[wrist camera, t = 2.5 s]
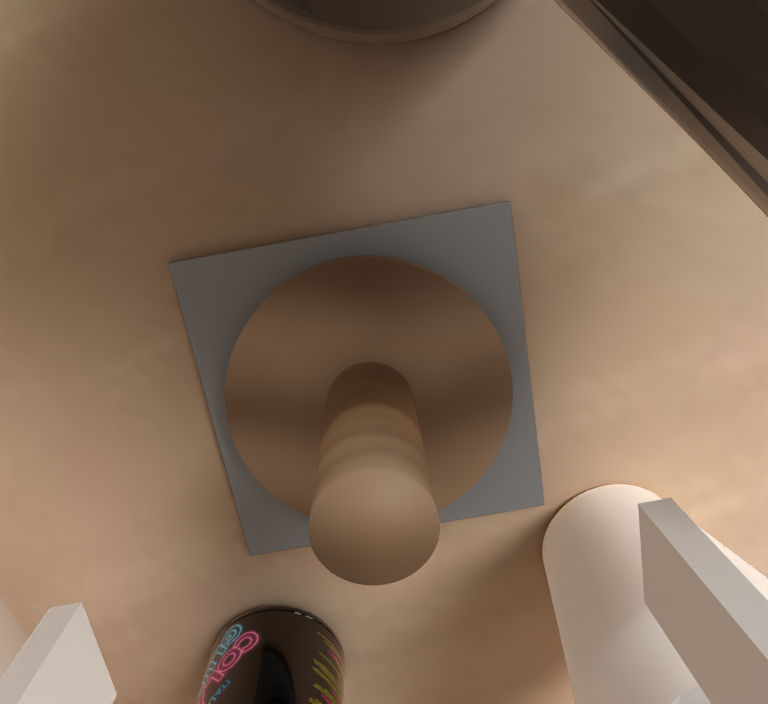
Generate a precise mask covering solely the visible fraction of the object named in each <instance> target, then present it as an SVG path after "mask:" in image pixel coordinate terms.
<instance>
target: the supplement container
mask: <svg viewBox="0 0 768 704" xmlns="http://www.w3.org/2000/svg"><path fill="white" fill-rule="evenodd" d="M344 673H345V658H344V652H343V649H342V646H341V644H340V642H339V640H338V638H337V636H336V635H335V633H334V632H333V630H332V629H331V628H330V627H329V626H328V625H327V624H326V623H325V622H324V621H323V620H322V619H320V618H319V617H317V616H316V615H314V614H312V613H310V612H308V611H306V610H303V609H300V608H296V607H292V606H284V605H271V606H264V607H259V608H256V609H253V610H250V611H248V612H245V613H243V614H242V615H240V616H238V617H237V618H235V619H234V620H233V621H231V622H230V623H229V624H228V625H227V626H226V627H225V628H224V629H223V630H222V632H221V633H220V634H219V636H218V637H217V639H216V641H215V643H214V645H213V648H212V651H211V654H210V657H209V661H208V664H207V667H206V670H205V674H204V677H203V680H202V683H201V687H200V690H199V693H198V696H197V700H196V703H195V704H343V703H344Z"/></svg>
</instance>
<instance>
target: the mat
mask: <svg viewBox="0 0 768 704" xmlns="http://www.w3.org/2000/svg"><path fill="white" fill-rule="evenodd" d="M359 255H382V256H389V257H395V258H401V259H405V260H408V261H412V262H415V263H419V264H421V265H423V266H426V267H428V268H430V269H432V270H435V271H437V272H438V273H440V274H442V275H443V276H445V277H447V278H448V279H450V280H452V281H453V282H454V283H455V284H457V285H458V286H459V287H460V288H461V289H463V290H464V291H465V292H466V293H467V294H468V295H469V296H470V297H471V298H472V299H473V300H474V301H475V302H476V303H477V304H478V305H479V307H480V308H481V309H482V310H483V312H484V313H485V314H486V316H487V317H488V319H489V320H490V321H491V323H492V324H493V326H494V327H495V329H496V331H497V333H498V335H499V337H500V339H501V341H502V343H503V345H504V348H505V351H506V354H507V357H508V360H509V364H510V369H511V374H512V384H513V402H512V413H511V418H510V422H509V426H508V430H507V433H506V436H505V438H504V441H503V444H502V446H501V448H500V450H499V452H498V454H497V456H496V457H495V459H494V461H493V463H492V464H491V465H490V467H489V468H488V470H487V471H486V472H485V474H484V475H483V476H482V477H481V478H480V479H479V481H478V482H477V483H476V484H475V485H474V486H473V487H472V488H471V489H470V490H469V491H467V492H466V493H465V494H464V495H463V496H462V497H460V498H459V499H458V500H456V501H455V502H453V503H452V504H450V505H449V506H447V507H446V508H444V509H442V510H440V511H438V516H439V523H443V522H449V521H455V520H460V519H466V518H472V517H478V516H483V515H489V514H495V513H501V512H507V511H512V510H518V509H524V508H530V507H535V506H541V505H544V497H543V489H542V480H541V471H540V462H539V453H538V444H537V435H536V426H535V417H534V408H533V400H532V391H531V382H530V373H529V364H528V355H527V346H526V337H525V328H524V319H523V311H522V302H521V293H520V284H519V275H518V266H517V257H516V248H515V239H514V230H513V222H512V213H511V204H510V201H504V202H499V203H494V204H488V205H483V206H477V207H472V208H466V209H461V210H455V211H450V212H444V213H439V214H433V215H428V216H422V217H417V218H411V219H406V220H400V221H395V222H389V223H384V224H379V225H373V226H368V227H362V228H357V229H351V230H346V231H340V232H335V233H329V234H324V235H318V236H313V237H307V238H302V239H296V240H291V241H285V242H280V243H274V244H269V245H263V246H258V247H253V248H247V249H242V250H236V251H231V252H225V253H220V254H214V255H209V256H203V257H198V258H192V259H187V260H181V261H176V262H171V263H169V264H168V265H169V269H170V272H171V276H172V279H173V283H174V286H175V290H176V294H177V297H178V301H179V304H180V308H181V311H182V315H183V318H184V322H185V326H186V329H187V333H188V336H189V340H190V343H191V347H192V351H193V354H194V358H195V361H196V365H197V368H198V372H199V375H200V379H201V383H202V386H203V390H204V393H205V397H206V400H207V404H208V408H209V411H210V415H211V418H212V422H213V425H214V429H215V432H216V436H217V440H218V443H219V447H220V450H221V454H222V457H223V461H224V464H225V468H226V472H227V475H228V479H229V482H230V486H231V489H232V493H233V497H234V500H235V504H236V507H237V511H238V514H239V518H240V521H241V525H242V529H243V532H244V536H245V539H246V543H247V546H248V550H249V554H250V556H253V555H259V554H264V553H270V552H276V551H282V550H287V549H293V548H299V547H305V546H310V545H311V543H310V540H309V534H308V524H309V517H308V516H306V515H304V514H302V513H300V512H298V511H296V510H294V509H292V508H291V507H289V506H288V505H286V504H284V503H283V502H281V501H280V500H278V499H277V498H276V497H275V496H274V495H272V494H271V493H270V492H269V491H268V490H267V489H265V488H264V487H263V485H262V484H261V483H260V482H259V481H258V480H257V479H256V478H255V477H254V475H253V474H252V473H251V471H250V470H249V469H248V467H247V466H246V464H245V463H244V461H243V460H242V458H241V456H240V454H239V452H238V450H237V448H236V446H235V444H234V441H233V438H232V435H231V432H230V429H229V425H228V420H227V415H226V408H225V383H226V374H227V370H228V365H229V361H230V357H231V354H232V352H233V349H234V347H235V344H236V342H237V339H238V338H239V336H240V334H241V332H242V331H243V329H244V327H245V325H246V324H247V322H248V321H249V319H250V318H251V317H252V315H253V314H254V313H255V311H256V310H257V309H258V307H259V306H260V305H261V303H262V302H263V301H264V300H265V299H266V298H267V297H268V296H269V295H270V294H271V293H272V292H273V291H274V290H275V289H277V288H278V287H279V286H281V285H282V284H283V283H285V282H286V281H287V280H289V279H290V278H292V277H293V276H295V275H297V274H299V273H301V272H302V271H304V270H306V269H308V268H311V267H313V266H316V265H318V264H321V263H323V262H326V261H330V260H334V259H338V258H342V257H350V256H359Z"/></svg>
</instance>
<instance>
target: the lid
mask: <svg viewBox="0 0 768 704" xmlns="http://www.w3.org/2000/svg"><path fill="white" fill-rule="evenodd" d="M512 402H513V384H512V374H511V369H510V364H509V360H508V357H507V354H506V351H505V348H504V345H503V343H502V341H501V339H500V337H499V335H498V333H497V331H496V329H495V327H494V326H493V324H492V323H491V321H490V320H489V319H488V317H487V316H486V314H485V313H484V312H483V310H482V309H481V308H480V307H479V305H478V304H477V303H476V302H475V301H474V300H473V299H472V298H471V297H470V296H469V295H468V294H467V293H466V292H465V291H464V290H463V289H461V288H460V287H459V286H458V285H457V284H455V283H454V282H453V281H452V280H450V279H448V278H447V277H445V276H443V275H442V274H440V273H438V272H437V271H435V270H432V269H430V268H428V267H426V266H423V265H421V264H419V263H415V262H412V261H408V260H405V259H401V258H395V257H389V256H382V255H359V256H350V257H342V258H338V259H334V260H330V261H326V262H323V263H321V264H318V265H316V266H313V267H311V268H308V269H306V270H304V271H302V272H301V273H299V274H297V275H295V276H293V277H292V278H290V279H289V280H287V281H286V282H285V283H283V284H282V285H281V286H279V287H278V288H277V289H275V290H274V291H273V292H272V293H271V294H270V295H269V296H268V297H267V298H266V299H265V300H264V301H263V302H262V303H261V305H260V306H259V307H258V309H257V310H256V311H255V313H254V314H253V315H252V317H251V318H250V319H249V321H248V322H247V324H246V325H245V327H244V329H243V331H242V332H241V334H240V336H239V338H238V339H237V342H236V344H235V347H234V349H233V352H232V354H231V357H230V361H229V365H228V370H227V374H226V383H225V408H226V415H227V420H228V425H229V429H230V432H231V435H232V438H233V441H234V444H235V446H236V448H237V450H238V452H239V454H240V456H241V458H242V460H243V461H244V463H245V464H246V466H247V467H248V469H249V470H250V471H251V473H252V474H253V475H254V477H255V478H256V479H257V480H258V481H259V482H260V483H261V484H262V485H263V487H264V488H265V489H267V490H268V491H269V492H270V493H271V494H272V495H274V496H275V497H276V498H277V499H278V500H280V501H281V502H283V503H284V504H286V505H288V506H289V507H291V508H292V509H294V510H296V511H298V512H300V513H302V514H304V515H306V516H308V517H309V524H308V534H309V540H310V543H311V546H312V549H313V551H314V553H315V555H316V556H317V558H318V559H319V561H320V562H321V563H322V564H323V565H324V566H325V567H326V568H327V569H328V570H329V571H330V572H332V573H333V574H335V575H337V576H338V577H340V578H342V579H344V580H347V581H350V582H353V583H357V584H363V585H383V584H388V583H393V582H396V581H399V580H402V579H404V578H406V577H408V576H410V575H411V574H413V573H414V572H416V571H417V570H418V569H419V568H421V567H422V566H423V565H424V564H425V563H426V562H427V560H428V559H429V558H430V556H431V555H432V553H433V551H434V549H435V547H436V544H437V542H438V538H439V531H440V523H439V516H438V511H440V510H442V509H444V508H446V507H447V506H449V505H450V504H452V503H453V502H455V501H456V500H458V499H459V498H460V497H462V496H463V495H464V494H465V493H466V492H467V491H469V490H470V489H471V488H472V487H473V486H474V485H475V484H476V483H477V482H478V481H479V479H480V478H481V477H482V476H483V475H484V474H485V472H486V471H487V470H488V468H489V467H490V465H491V464H492V463H493V461H494V459H495V457H496V456H497V454H498V452H499V450H500V448H501V446H502V444H503V441H504V438H505V436H506V433H507V430H508V426H509V422H510V418H511V413H512Z"/></svg>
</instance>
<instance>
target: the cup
mask: <svg viewBox="0 0 768 704" xmlns="http://www.w3.org/2000/svg"><path fill="white" fill-rule="evenodd" d="M656 500H661V498H660V497H658V496H657V495H655V494H654V493H652V492H650V491H648V490H646V489H643V488H641V487H637V486H632V485H624V484H613V485H606V486H600V487H597V488H594V489H591V490H588V491H586V492H584V493H582V494H580V495H578V496H576V497H575V498H573V499H572V500H570V501H569V502H568V503H567V504H565V505H564V506H563V507H562V508H561V509H560V510H559V511H558V513H557V514H556V515H555V516H554V518H553V519H552V521H551V522H550V524H549V526H548V528H547V531H546V533H545V536H544V540H543V547H542V556H543V563H544V567H545V572H546V576H547V580H548V585H549V589H550V594H551V598H552V603H553V607H554V612H555V616H556V620H557V625H558V629H559V634H560V638H561V643H562V647H563V651H564V656H565V660H566V665H567V669H568V674H569V678H570V682H571V687H572V691H573V695H574V700H575V704H711V703H710V701H709V700H708V698H707V697H706V695H705V694H704V692H703V691H702V689H701V688H700V686H699V685H698V683H697V682H696V680H695V679H694V677H693V676H692V674H691V673H690V671H689V669H688V668H687V666H686V665H685V663H684V662H683V660H682V659H681V657H680V656H679V654H678V653H677V651H676V650H675V648H674V647H673V645H672V644H671V642H670V641H669V639H668V638H667V636H666V634H665V633H664V631H663V630H662V628H661V627H660V625H659V624H658V622H657V621H656V619H655V618H654V616H653V615H652V613H651V612H650V610H649V609H648V607H647V606H646V604H645V603H644V590H643V574H642V558H641V543H640V527H639V511H638V504H639V503H644V502H650V501H656ZM699 528H700V527H699ZM700 529H701V528H700ZM701 530H702V529H701ZM702 531H703V532H704V533H705V534H706V536H707V537H708V538H709V539H710V540H711V541H712V542H713V543H714V544H715V545H716V546H717V547H718V548H719V549H720V550H721V551H722V552H723V554H724V555H725V556H726V557H727V558H728V559H729V560H730V561H731V562H732V563H733V564H734V565H735V566H736V567H737V568H738V569H739V570H740V572H741V573H742V574H743V575H744V576H745V577H746V578H747V579H748V580H749V581H750V582H751V583H752V584H753V585H754V586H755V587H756V588H757V590H758V591H759V592H760V593H761V594H762V595H763V596H764V597H765V598H766V599H767V600H768V578H766V577H765V576H764V575H762V574H761V573H760V572H758V571H757V570H756V569H754V568H753V567H752V566H750V565H749V564H748V563H746V562H745V561H744V560H742V559H741V558H740V557H738V556H737V555H736V554H734V553H733V552H732V551H730V550H729V549H728V548H726V547H725V546H724V545H722V544H721V543H720V542H718V541H717V540H716V539H714V538H713V537H712V536H710V535H709V534H708V533H706V532H705V531H704V530H702Z"/></svg>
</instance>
